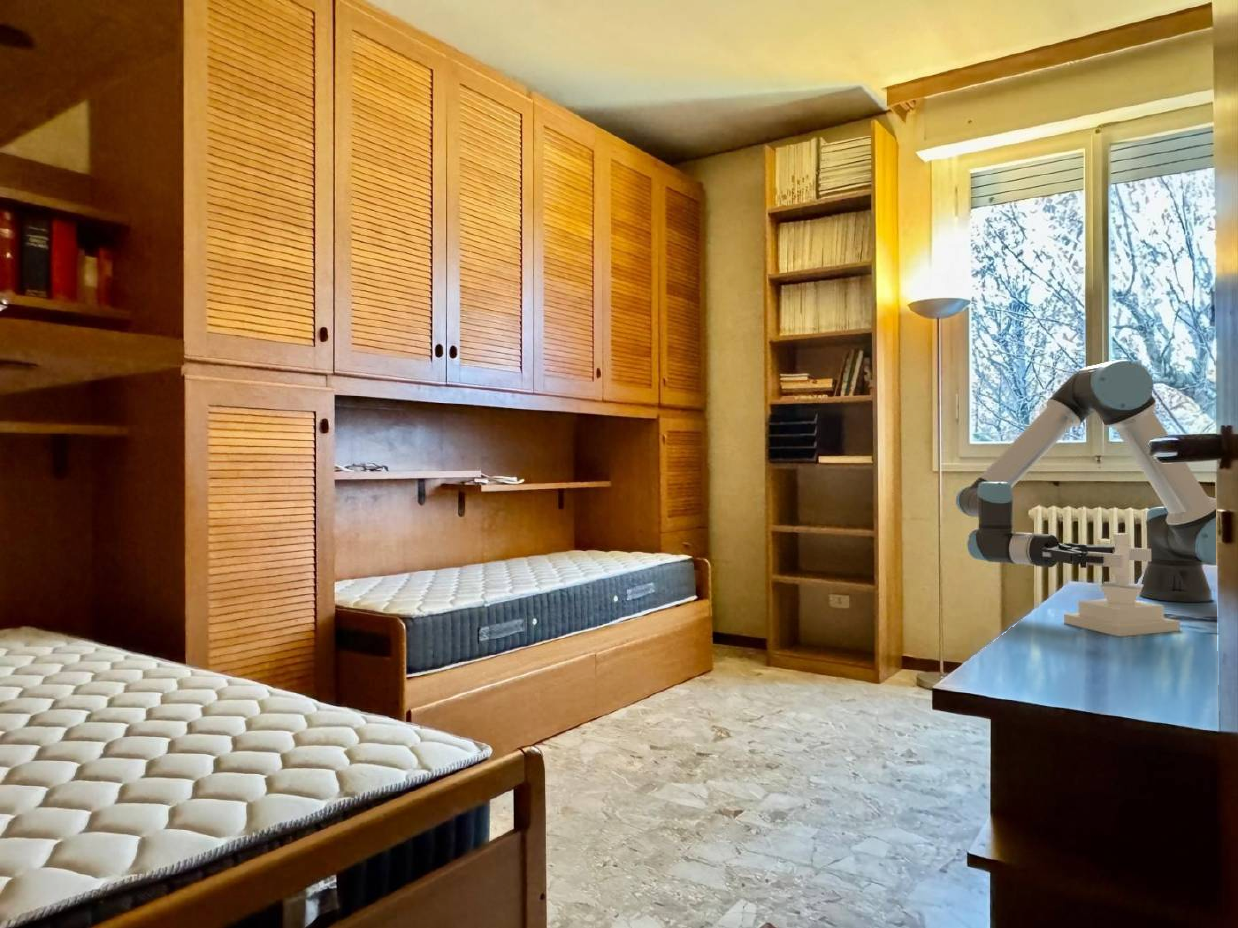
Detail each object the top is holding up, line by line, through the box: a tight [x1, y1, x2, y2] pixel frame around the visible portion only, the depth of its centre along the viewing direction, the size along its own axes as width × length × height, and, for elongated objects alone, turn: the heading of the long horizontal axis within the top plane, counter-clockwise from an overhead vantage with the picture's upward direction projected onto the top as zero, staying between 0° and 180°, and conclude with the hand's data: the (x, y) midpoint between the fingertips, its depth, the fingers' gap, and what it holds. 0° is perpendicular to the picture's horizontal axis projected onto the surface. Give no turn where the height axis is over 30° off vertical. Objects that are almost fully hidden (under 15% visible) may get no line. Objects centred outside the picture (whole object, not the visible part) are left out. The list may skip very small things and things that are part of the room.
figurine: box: [1099, 532, 1143, 605], centre depth 173 cm, size 7×9×15 cm
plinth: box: [1063, 598, 1181, 637], centre depth 172 cm, size 16×14×5 cm
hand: (1136, 558), depth 169 cm, fingers open, 13 cm apart
